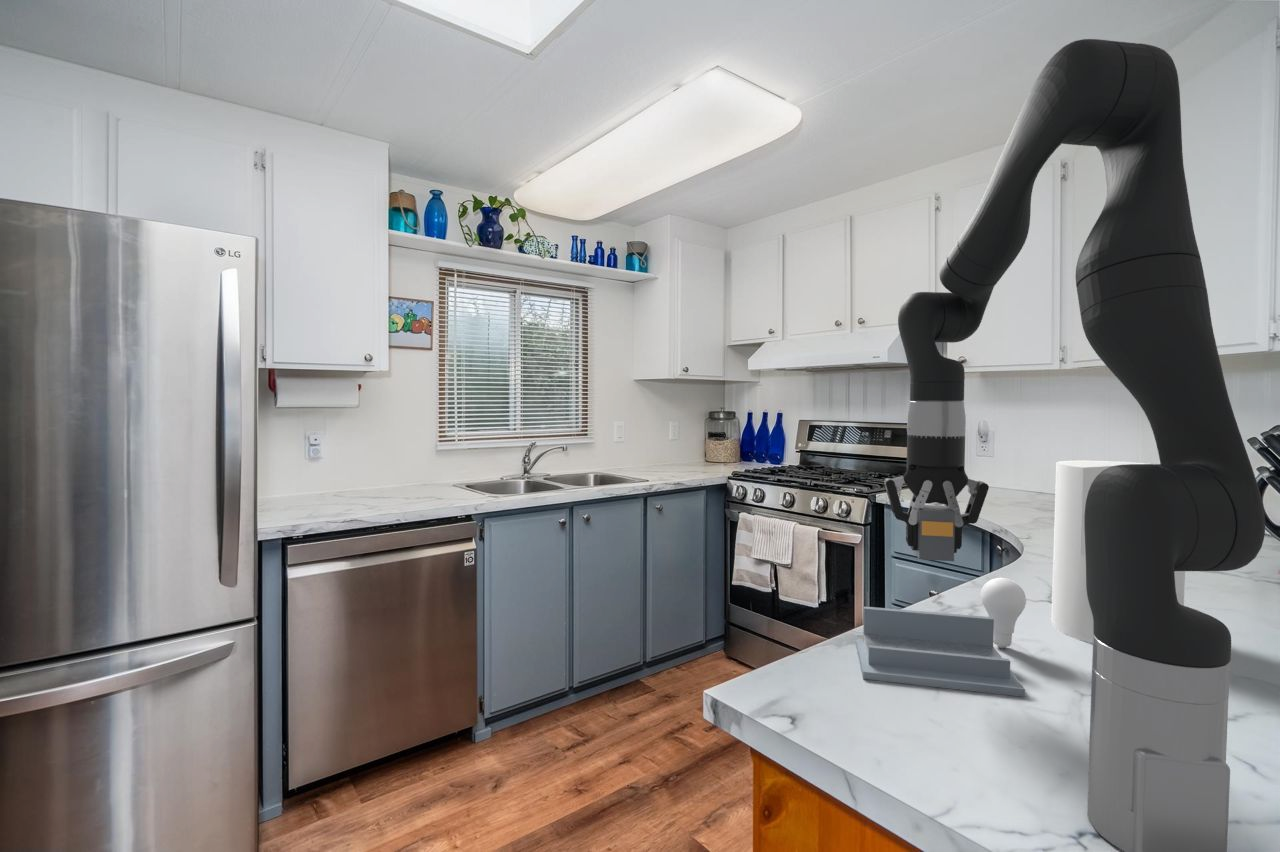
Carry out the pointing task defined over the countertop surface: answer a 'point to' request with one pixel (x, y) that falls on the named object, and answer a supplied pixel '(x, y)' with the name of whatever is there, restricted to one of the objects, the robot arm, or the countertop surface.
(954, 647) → the plate
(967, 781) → the countertop surface
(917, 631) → the grey stepped stand
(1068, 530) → the cylinder
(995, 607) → the lightbulb
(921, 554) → the block
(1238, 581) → the countertop surface
